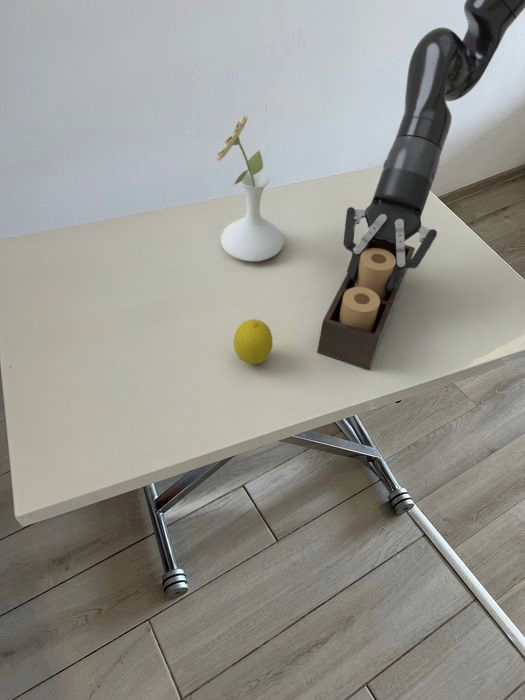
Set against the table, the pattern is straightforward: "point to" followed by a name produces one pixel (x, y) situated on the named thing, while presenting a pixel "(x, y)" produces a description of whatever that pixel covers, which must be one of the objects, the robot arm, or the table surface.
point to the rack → (353, 341)
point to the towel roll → (375, 270)
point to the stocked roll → (359, 308)
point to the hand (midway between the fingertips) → (369, 285)
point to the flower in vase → (250, 210)
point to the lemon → (253, 341)
